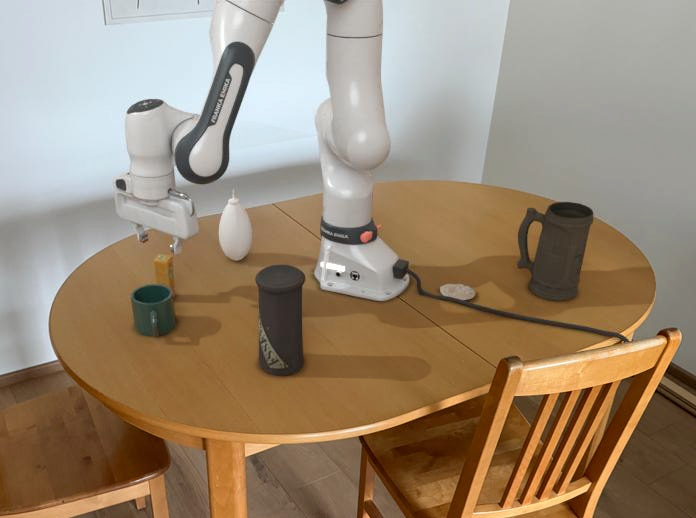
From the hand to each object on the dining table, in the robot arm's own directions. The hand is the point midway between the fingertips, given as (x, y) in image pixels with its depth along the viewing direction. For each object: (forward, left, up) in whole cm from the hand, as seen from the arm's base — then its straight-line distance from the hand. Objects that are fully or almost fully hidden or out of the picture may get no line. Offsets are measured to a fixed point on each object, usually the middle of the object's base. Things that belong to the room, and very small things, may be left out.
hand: (159, 246), depth 152 cm
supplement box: (0, 0, -13) cm, 13 cm away
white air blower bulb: (-1, -24, -13) cm, 27 cm away
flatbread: (-53, -38, -13) cm, 67 cm away
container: (-36, +7, -13) cm, 39 cm away
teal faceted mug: (-7, +11, -12) cm, 18 cm away
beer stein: (-68, -52, -13) cm, 87 cm away
